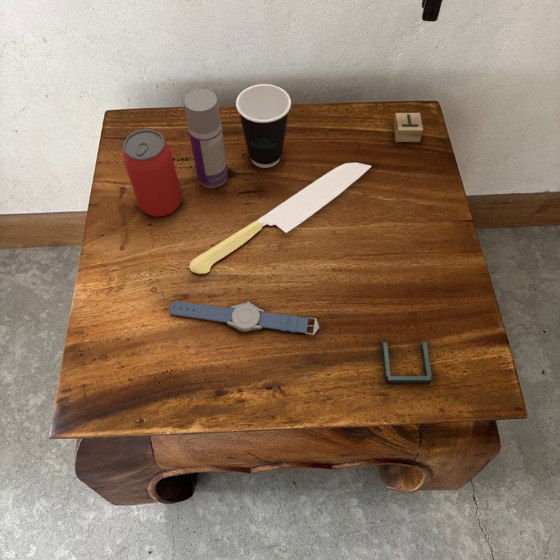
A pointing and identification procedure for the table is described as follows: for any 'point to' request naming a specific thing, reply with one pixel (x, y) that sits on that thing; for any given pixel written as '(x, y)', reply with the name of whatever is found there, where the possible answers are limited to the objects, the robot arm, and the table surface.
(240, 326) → the wristwatch
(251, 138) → the dixie cup
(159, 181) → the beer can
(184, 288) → the table surface
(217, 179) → the container
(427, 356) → the frame
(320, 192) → the knife
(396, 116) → the letter tile
